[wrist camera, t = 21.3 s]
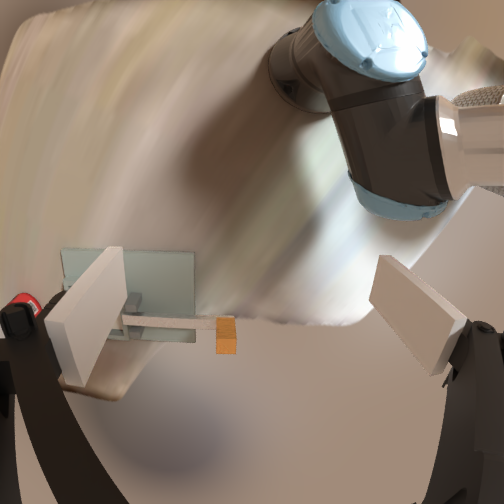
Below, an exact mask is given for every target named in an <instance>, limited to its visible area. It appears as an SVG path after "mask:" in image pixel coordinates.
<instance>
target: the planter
mask: <svg viewBox="0 0 504 504" xmlns="http://www.w3.org/2000/svg"><path fill="white" fill-rule="evenodd" d="M451 103H452V104H454V105H455V106H458V107H468V106H481V105H497V104H504V85H499V86H491V87H484V88H480V89H475V90H471V91H467V92H464V93H462V94H460V95H458V96H457V97H455V98H454V99H453V100H452V101H451ZM480 187H482V188H484V189H486V190H488V191H491V192H493V193H496V194H498V195H500V196H503V197H504V186H480Z"/></svg>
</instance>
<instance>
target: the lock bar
mask: <svg viewBox="0 0 504 504" xmlns="http://www.w3.org/2000/svg"><path fill="white" fill-rule="evenodd" d="M122 320H123V325H136V326H150V327H166V328H187V329H216V353H217V354H236V328H235V318H234V316H223V315H190V314H168V313H150V312H137V313H136V312H126V311H123V313H122Z"/></svg>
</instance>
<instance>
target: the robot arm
mask: <svg viewBox="0 0 504 504" xmlns="http://www.w3.org/2000/svg"><path fill="white" fill-rule="evenodd" d="M427 56H428V45H427V41H426V37H425V35H424V32H423V30H422V28H421V27H420V25H419V23H418V22H417V20H416V19H415V18H414V16H413V15H412V14H411V13H410V12H409V11H408V10H407V9H406V8H405V7H404V6H403V5H401V4H400V3H399V2H397V1H393V0H325V1H324V2H321V3H320V4H319V5H318V6H317V7H316V9H315V10H314V12H313V14H312V15H311V16H310V18H309V19H308V20H307V22H306V23H305V24H304V26H303V27H299V28H296V29H293V30H291V31H289V32H287V33H286V34H284V35H283V36H282V37H281V38H280V39H279V40H278V41H277V43H276V44H275V46H274V47H273V49H272V51H271V54H270V57H269V63H268V68H269V75H270V79H271V81H272V84H273V86H274V87H275V89H276V90H277V92H278V93H279V94H280V96H281V97H282V98H283V99H284V100H286V101H287V102H288V103H289V104H291V105H293V106H294V107H296V108H298V109H301V110H303V111H307V112H312V113H326V112H331V115H332V118H333V121H334V124H335V127H336V130H337V133H338V136H339V139H340V142H341V146H342V149H343V152H344V156H345V159H346V162H347V166H348V175H349V178H350V180H351V181H352V183H353V186H354V189H355V192H356V195H357V198H358V200H359V202H360V204H361V205H363V207H364V208H365V209H366V210H367V211H369V212H371V213H372V214H374V215H377V216H379V217H383V218H387V219H392V220H400V221H415V220H421V219H422V217H426V218H431V217H434V216H436V215H438V214H440V213H441V212H442V211H444V209H445V208H446V206H447V203H448V200H459V199H460V198H461V196H462V195H463V194H464V193H465V192H466V190H467V189H468V188H470V187H471V186H504V104H497V105H481V106H468V107H458V106H455V105H454V104H452V103H451V102H450V101H448V100H447V99H446V98H444V97H443V96H441V95H438V96H431V97H426V95H425V93H424V89H423V86H422V83H421V80H420V77H419V73H420V72H421V71H422V69H423V68H424V67H425V65H426V60H425V58H426V57H427ZM126 299H127V289H126V280H125V270H124V260H123V247H107V248H106V249H105V250H104V251H103V253H102V254H101V255H100V256H99V257H98V258H97V259H96V260H95V261H94V262H93V263H92V264H91V265H90V267H89V268H88V269H87V270H86V271H85V272H84V273H83V274H82V275H81V276H80V278H79V279H78V280H77V281H76V282H75V283H74V284H73V286H72V287H71V288H70V289H69V290H68V291H67V290H63V291H61V292H60V293H58V294H56V295H55V296H54V297H53V298H52V299H51V300H50V301H49V304H47V305H46V306H45V307H44V309H42V310H41V312H40V313H39V314H38V315H37V316H36V317H35V315H34V312H33V308H32V306H31V305H30V304H29V303H26V302H16V303H12V304H10V305H7V306H6V307H4V308H3V309H2V310H1V311H0V325H1V328H2V331H3V333H4V336H5V338H0V504H22V501H21V496H20V489H19V483H18V474H17V464H16V451H15V429H14V428H15V427H14V407H15V394H17V398H18V402H19V405H20V409H21V413H22V416H23V419H24V422H25V425H26V428H27V432H28V435H29V437H30V440H31V443H32V446H33V448H34V451H35V454H36V456H37V459H38V461H39V464H40V466H41V468H42V471H43V473H44V475H45V478H46V480H47V482H48V484H49V486H50V488H51V490H52V493H53V494H54V496H55V499H56V500H57V502H58V504H129V503H128V501H127V500H126V499H125V497H124V496H123V495H122V493H121V492H120V491H119V489H118V488H117V486H116V485H115V484H114V482H113V481H112V479H111V478H110V476H109V475H108V473H107V472H106V470H105V469H104V467H103V466H102V464H101V462H100V461H99V459H98V457H97V456H96V454H95V453H94V451H93V449H92V447H91V446H90V444H89V442H88V441H87V439H86V437H85V435H84V433H83V432H82V430H81V428H80V426H79V424H78V422H77V420H76V418H75V416H74V415H73V412H72V410H71V409H70V406H69V404H68V402H67V400H66V398H65V396H64V393H63V391H62V389H61V387H60V384H59V382H58V378H59V376H60V374H61V372H62V375H63V377H64V380H65V382H66V384H68V385H73V386H78V387H84V388H85V385H86V383H87V381H88V378H89V376H90V374H91V372H92V369H93V367H94V365H95V363H96V361H97V358H98V356H99V354H100V352H101V350H102V348H103V346H104V343H105V341H106V339H107V337H108V335H109V333H110V331H111V329H112V327H113V325H114V323H115V321H116V319H117V317H118V315H119V313H120V311H121V309H122V307H123V305H124V303H125V301H126ZM369 301H370V303H371V304H372V305H373V306H374V307H375V309H376V310H377V311H378V312H379V313H380V314H381V316H382V317H383V318H384V319H385V321H386V322H387V323H388V324H389V325H390V326H391V328H392V329H393V330H394V332H395V333H396V334H397V335H398V336H399V338H400V339H401V340H402V341H403V343H404V344H405V345H406V346H407V348H408V349H409V350H410V351H411V353H412V354H413V355H414V357H415V358H416V359H417V360H418V362H419V363H420V364H421V365H422V367H423V368H424V369H425V371H426V372H427V373H428V374H429V376H433V375H437V374H441V373H443V371H444V369H445V367H446V365H447V363H448V361H449V363H450V364H451V365H452V368H451V370H450V372H449V374H448V376H447V378H446V380H445V381H444V383H443V385H442V387H443V388H444V386H445V385H446V384H448V387H447V397H446V405H445V412H444V419H443V425H442V431H441V436H440V441H439V446H438V451H437V455H436V459H435V463H434V468H433V471H432V475H431V479H430V483H429V486H428V490H427V493H426V496H425V498H424V500H423V502H422V504H504V331H503V333H497V332H496V330H495V329H494V327H492V326H491V325H489V324H488V323H485V322H482V321H474V322H473V323H472V322H471V321H470V320H469V319H467V317H466V316H465V315H463V314H462V313H461V312H460V311H459V310H458V309H456V308H455V307H454V306H453V305H452V304H451V303H449V302H448V301H447V300H446V299H445V298H444V297H442V296H441V295H440V294H439V293H438V292H436V291H435V290H434V289H433V288H431V287H430V286H429V285H428V284H427V283H425V282H424V281H423V280H422V279H420V278H419V277H418V276H417V275H415V274H414V273H413V272H412V271H410V270H409V269H408V268H407V267H405V266H404V265H403V264H401V263H400V262H399V261H397V260H396V259H395V258H394V257H392V256H391V255H379V260H378V264H377V269H376V273H375V277H374V281H373V286H372V290H371V294H370V297H369ZM413 504H416V502H415V503H413Z"/></svg>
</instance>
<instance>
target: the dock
mask: <svg viewBox="0 0 504 504" xmlns="http://www.w3.org/2000/svg"><path fill="white" fill-rule="evenodd" d="M104 250H105V249H79V248H63V249H62V250H61V255H62V262H63V268H64V274H65V278H64V279H63V285H64V290H67V291H68V290H69V289H70V288H71V287H72V286H73V284H74V283H75V282H76V281H77V280H78V279H79V278H80V276H81V275H82V274H83V273H84V272H85V271H86V270H87V269H88V268H89V267H90V265H91V264H92V263H93V262H94V261H95V260H96V259H97V258H98V257H99V256H100V255H101V254H102V253H103V251H104ZM123 260H124V270H125V280H126V289H127V299H126V301H125V303H124V305H123V307H122V309H121V311H120V313H119V315H118V317H117V319H116V321H115V323H114V325H113V327H112V329H111V331H110V333H109V335H108V337H107V339H114V340H124V341H130V339H139V340H152V341H168V342H187V343H195V342H196V332H195V329H187V328H166V327H150V326H136V325H123V320H122V313H123V311H126V312H136V313H137V312H150V313H168V314H190V315H195V252H167V251H137V250H123Z"/></svg>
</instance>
